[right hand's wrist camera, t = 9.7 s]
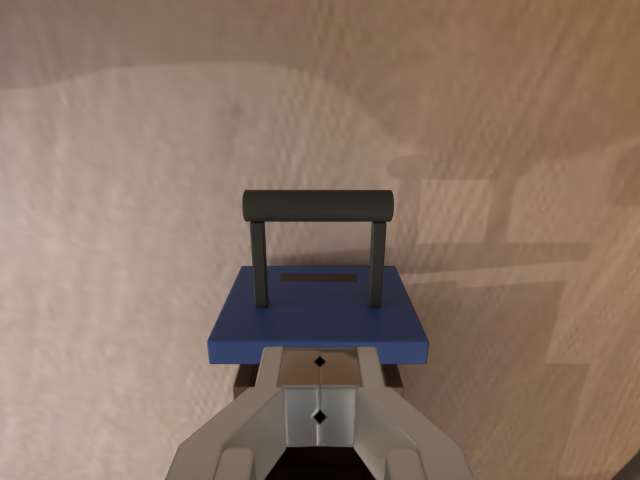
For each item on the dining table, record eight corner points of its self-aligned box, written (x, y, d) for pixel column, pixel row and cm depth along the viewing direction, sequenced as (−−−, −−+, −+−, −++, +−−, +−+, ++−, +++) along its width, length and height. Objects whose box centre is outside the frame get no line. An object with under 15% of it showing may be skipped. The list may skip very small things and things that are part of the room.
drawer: (234, 171, 22) (190, 209, 14) (402, 171, 22) (445, 209, 14) (256, 460, 29) (234, 583, 22) (381, 460, 29) (401, 583, 22)
